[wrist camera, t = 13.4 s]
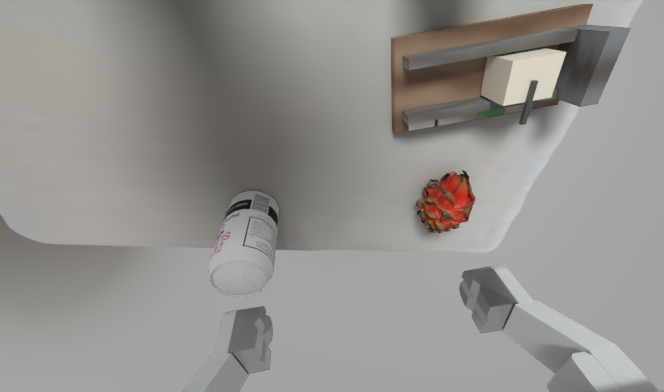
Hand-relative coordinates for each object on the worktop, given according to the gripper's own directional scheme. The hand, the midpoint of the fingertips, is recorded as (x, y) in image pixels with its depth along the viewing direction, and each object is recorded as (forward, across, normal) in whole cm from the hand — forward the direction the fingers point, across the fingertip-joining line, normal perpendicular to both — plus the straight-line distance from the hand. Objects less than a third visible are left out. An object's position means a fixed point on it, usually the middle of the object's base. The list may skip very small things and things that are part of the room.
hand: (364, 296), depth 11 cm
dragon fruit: (+31, -18, +20) cm, 41 cm away
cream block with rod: (+29, -25, +2) cm, 39 cm away
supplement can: (+31, +14, +17) cm, 38 cm away
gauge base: (+31, -22, +1) cm, 38 cm away
